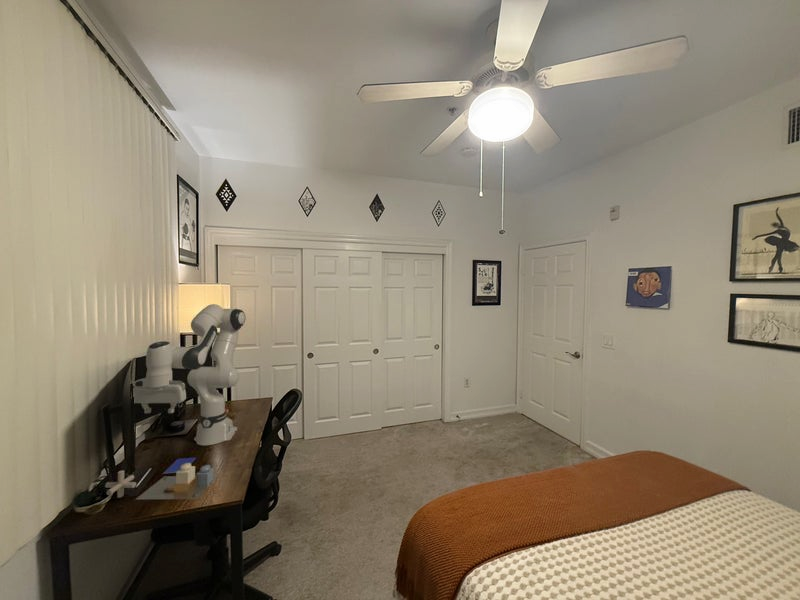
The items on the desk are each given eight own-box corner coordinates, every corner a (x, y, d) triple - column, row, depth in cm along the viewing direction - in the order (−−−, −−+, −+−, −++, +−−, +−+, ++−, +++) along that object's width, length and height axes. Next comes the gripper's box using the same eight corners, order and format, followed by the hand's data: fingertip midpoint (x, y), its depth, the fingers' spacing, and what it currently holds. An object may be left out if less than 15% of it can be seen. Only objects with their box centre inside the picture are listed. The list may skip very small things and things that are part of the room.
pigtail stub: (168, 486, 123) (168, 476, 123) (196, 486, 123) (197, 476, 123) (158, 495, 118) (158, 484, 118) (188, 495, 118) (188, 484, 118)
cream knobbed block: (183, 477, 123) (183, 462, 123) (194, 477, 123) (195, 462, 123) (176, 483, 118) (176, 468, 118) (187, 483, 119) (188, 468, 119)
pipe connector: (144, 490, 122) (145, 464, 122) (122, 506, 112) (123, 479, 112) (118, 490, 122) (119, 464, 122) (94, 506, 112) (94, 479, 112)
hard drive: (183, 471, 133) (196, 457, 146) (162, 473, 132) (177, 458, 144) (183, 475, 133) (196, 460, 146) (162, 476, 132) (177, 462, 144)
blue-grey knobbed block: (202, 478, 129) (203, 464, 129) (213, 478, 129) (213, 464, 129) (196, 484, 125) (196, 470, 125) (207, 484, 125) (207, 469, 125)
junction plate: (164, 478, 130) (164, 475, 130) (217, 477, 131) (217, 475, 131) (135, 501, 115) (135, 498, 115) (195, 500, 116) (196, 497, 116)
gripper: (189, 378, 135) (189, 409, 135) (140, 378, 134) (140, 410, 134) (180, 382, 129) (180, 415, 129) (128, 382, 128) (128, 415, 128)
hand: (159, 412), depth 132 cm, fingers open, 8 cm apart
